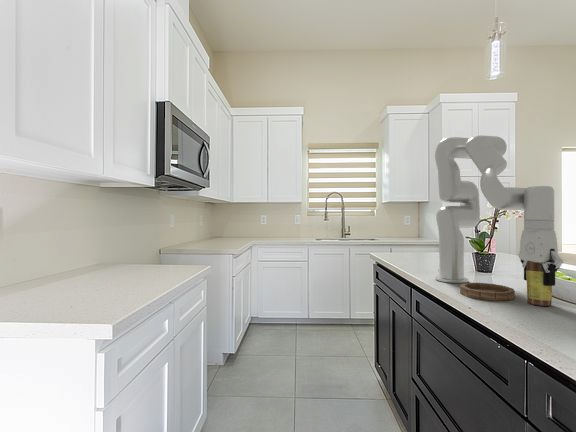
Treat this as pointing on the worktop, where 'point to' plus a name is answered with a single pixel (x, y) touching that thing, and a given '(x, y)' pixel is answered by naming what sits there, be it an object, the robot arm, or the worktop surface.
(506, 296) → the walnut bowl
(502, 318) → the worktop surface
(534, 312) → the worktop surface
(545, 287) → the sauce bottle
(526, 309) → the worktop surface
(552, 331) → the worktop surface
